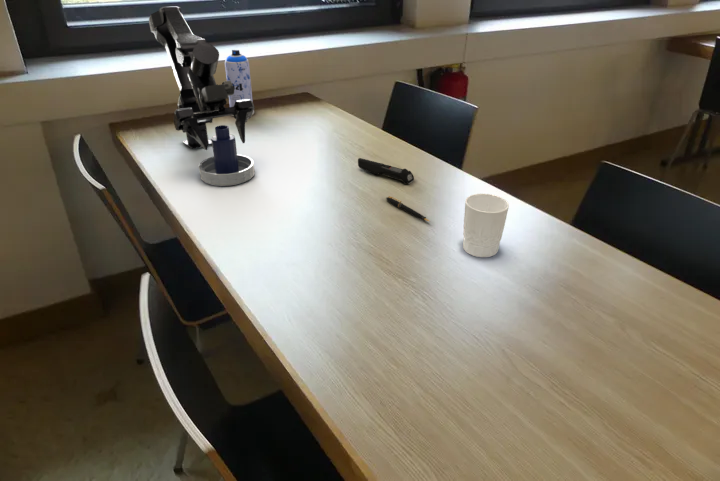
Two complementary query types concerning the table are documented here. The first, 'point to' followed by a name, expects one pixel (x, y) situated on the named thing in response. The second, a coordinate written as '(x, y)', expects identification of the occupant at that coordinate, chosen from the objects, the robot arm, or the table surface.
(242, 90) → the aerosol can
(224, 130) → the dark blue vase
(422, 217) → the fountain pen
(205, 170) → the steel dish
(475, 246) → the white cup
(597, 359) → the table surface
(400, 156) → the table surface
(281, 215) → the table surface
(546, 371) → the table surface
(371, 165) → the electric trimmer
